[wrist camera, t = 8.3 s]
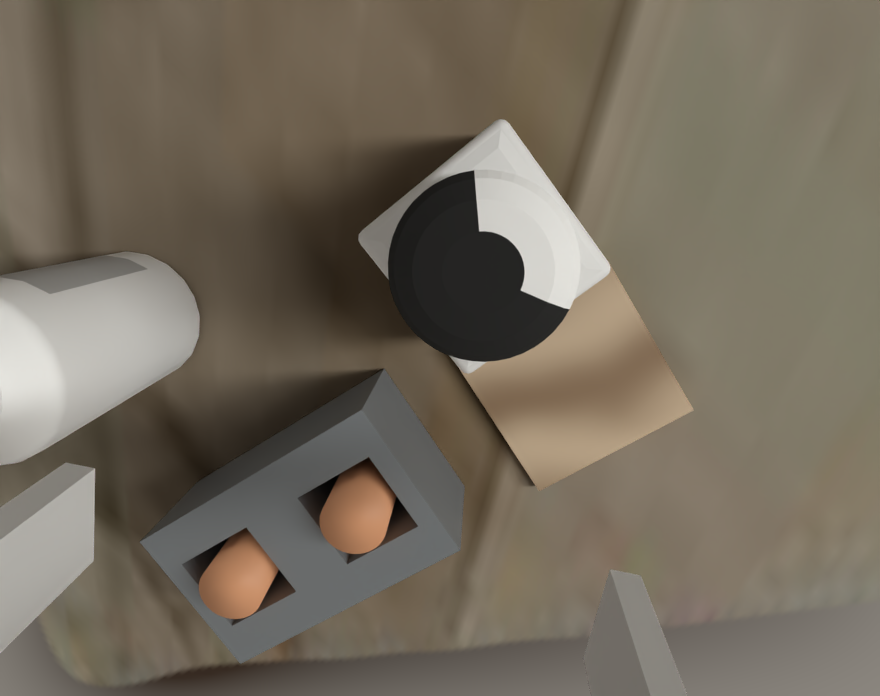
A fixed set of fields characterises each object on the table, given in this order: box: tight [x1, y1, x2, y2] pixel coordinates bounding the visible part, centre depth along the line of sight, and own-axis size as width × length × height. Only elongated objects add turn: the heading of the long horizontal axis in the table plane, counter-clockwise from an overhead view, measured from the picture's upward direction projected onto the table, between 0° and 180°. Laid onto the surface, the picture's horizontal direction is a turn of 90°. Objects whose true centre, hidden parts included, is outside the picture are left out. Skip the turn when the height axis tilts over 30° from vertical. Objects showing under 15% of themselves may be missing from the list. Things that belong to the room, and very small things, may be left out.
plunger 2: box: [319, 457, 396, 554], centre depth 29 cm, size 3×3×6 cm
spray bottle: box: [0, 251, 200, 465], centre depth 23 cm, size 7×7×18 cm
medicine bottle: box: [358, 119, 611, 374], centre depth 24 cm, size 7×7×12 cm
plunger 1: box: [199, 528, 279, 619], centre depth 31 cm, size 3×3×6 cm
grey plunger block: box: [140, 369, 465, 664], centre depth 31 cm, size 8×13×6 cm, turn 123°
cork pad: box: [458, 260, 693, 491], centre depth 31 cm, size 9×9×1 cm
